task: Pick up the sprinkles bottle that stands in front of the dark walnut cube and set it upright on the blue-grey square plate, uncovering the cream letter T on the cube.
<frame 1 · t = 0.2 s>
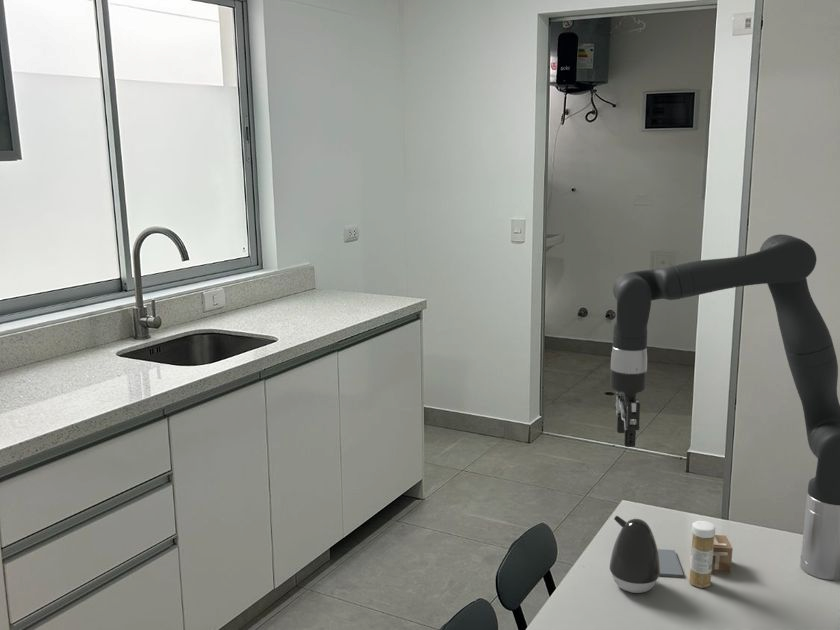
hand: (625, 439, 178), 29 cm above the table, tool pointing down, fingers open, 8 cm apart
sprinkles bottle: (699, 584, 174), on the table
pump dispenser: (633, 587, 173), on the table
walnut letter cube: (713, 566, 181), on the table
blue-grey square plate: (653, 563, 182), on the table
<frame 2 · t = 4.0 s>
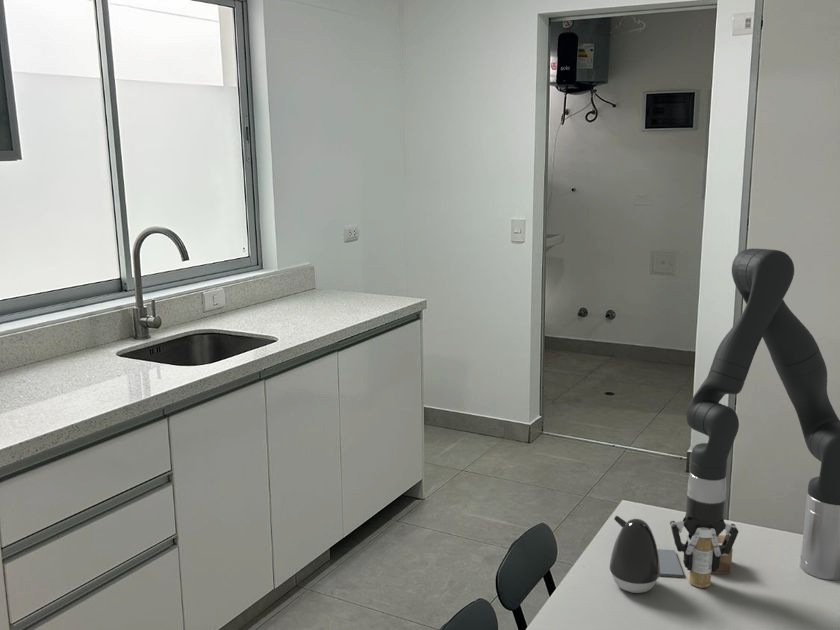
hand: (700, 568, 173), 3 cm above the table, tool pointing down, fingers closed on sprinkles bottle, 4 cm apart
sprinkles bottle: (699, 584, 174), on the table, touching gripper
everything else where it was.
when the fingers open (5 cm above the table, at t = 10.4 s): sprinkles bottle stays where it is, resting on blue-grey square plate.
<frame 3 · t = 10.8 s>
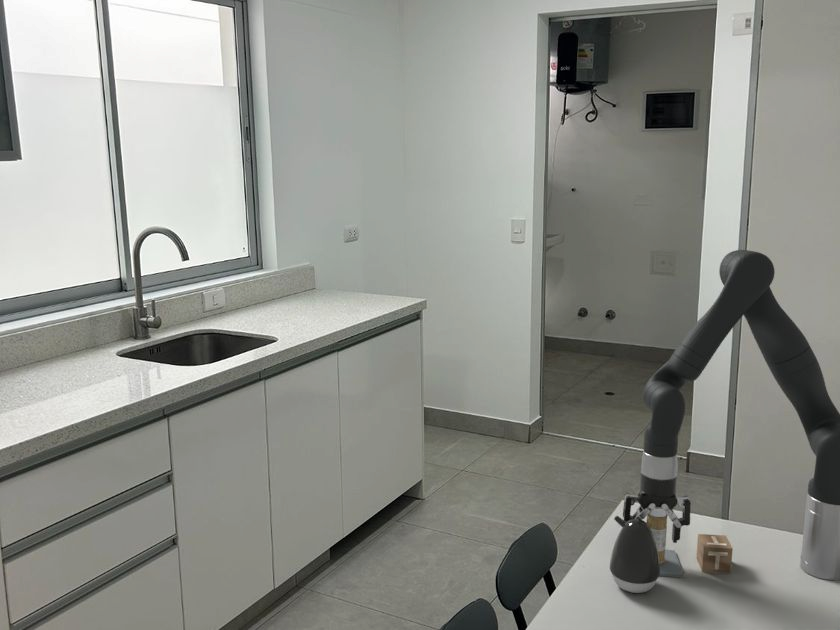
hand: (654, 540, 181), 6 cm above the table, tool pointing down, fingers open, 8 cm apart
sprinkles bottle: (654, 561, 182), resting on blue-grey square plate
everything else where it was.
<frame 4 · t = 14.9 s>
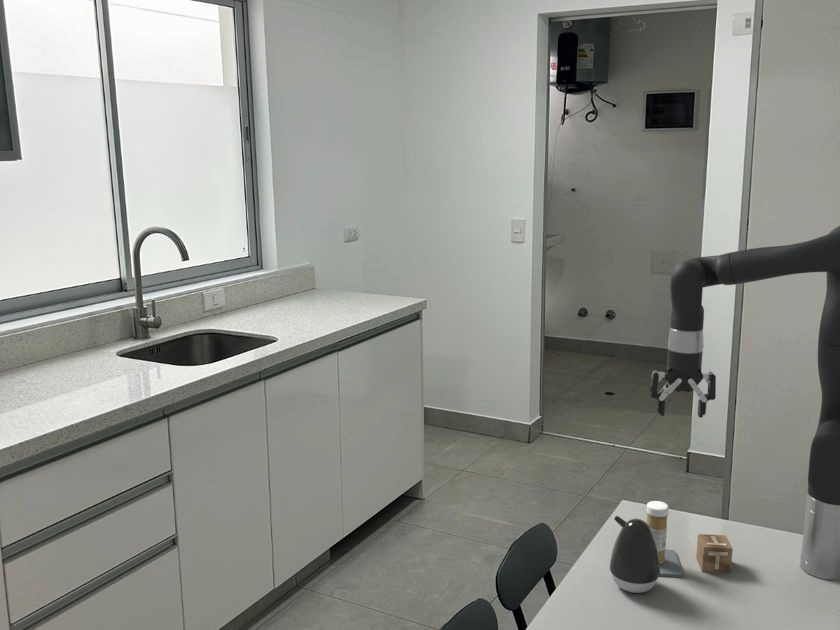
hand: (680, 415, 188), 30 cm above the table, tool pointing down, fingers open, 8 cm apart
nothing on the table moved.
at the end: sprinkles bottle inside the target area on the blue-grey square plate (0.2 cm from its centre), point 0.4 cm above the blue-grey square plate's base; sprinkles bottle tilted 0°; walnut letter cube moved 0.1 cm from its start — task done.
